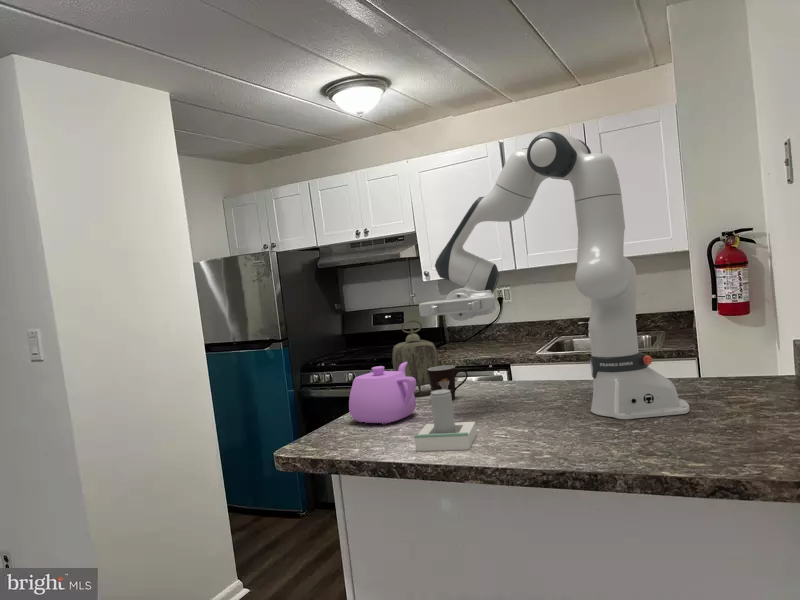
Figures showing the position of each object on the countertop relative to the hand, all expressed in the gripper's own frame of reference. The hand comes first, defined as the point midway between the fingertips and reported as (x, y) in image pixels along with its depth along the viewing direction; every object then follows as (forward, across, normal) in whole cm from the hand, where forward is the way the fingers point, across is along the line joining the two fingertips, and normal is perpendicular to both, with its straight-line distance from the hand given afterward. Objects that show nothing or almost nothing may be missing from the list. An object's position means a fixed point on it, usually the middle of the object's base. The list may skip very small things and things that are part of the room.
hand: (452, 308), depth 147 cm
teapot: (-11, -25, +30) cm, 41 cm away
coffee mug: (-31, -10, +30) cm, 44 cm away
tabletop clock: (-41, -22, +30) cm, 55 cm away
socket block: (+15, -2, +30) cm, 34 cm away
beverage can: (+15, -2, +30) cm, 34 cm away
